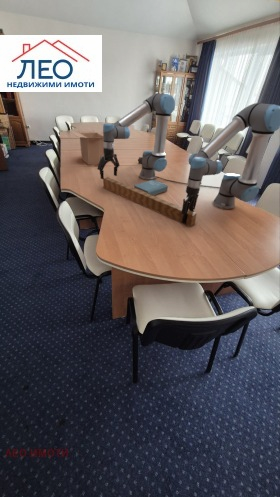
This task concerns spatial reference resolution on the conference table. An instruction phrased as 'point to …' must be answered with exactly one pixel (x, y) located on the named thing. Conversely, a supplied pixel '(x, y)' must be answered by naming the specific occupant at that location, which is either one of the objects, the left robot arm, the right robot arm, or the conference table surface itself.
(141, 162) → the laser sight
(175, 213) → the bar
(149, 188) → the book
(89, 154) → the box
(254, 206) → the conference table surface
